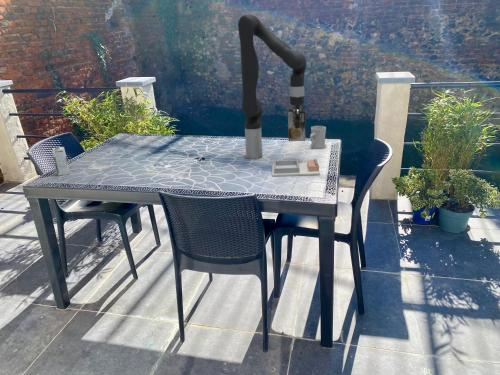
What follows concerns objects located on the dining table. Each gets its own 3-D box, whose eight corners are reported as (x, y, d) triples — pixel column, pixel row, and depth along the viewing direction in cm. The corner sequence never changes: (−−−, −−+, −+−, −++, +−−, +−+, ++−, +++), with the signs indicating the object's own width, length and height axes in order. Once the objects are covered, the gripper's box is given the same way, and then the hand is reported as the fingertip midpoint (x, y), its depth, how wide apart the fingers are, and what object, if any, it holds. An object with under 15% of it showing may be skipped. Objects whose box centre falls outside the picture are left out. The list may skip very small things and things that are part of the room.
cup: (325, 150, 235) (325, 130, 231) (309, 149, 237) (309, 130, 232) (325, 144, 245) (326, 125, 240) (310, 144, 246) (311, 125, 242)
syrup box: (58, 172, 222) (52, 147, 216) (69, 171, 224) (63, 146, 218) (57, 176, 217) (51, 150, 211) (69, 174, 219) (63, 149, 213)
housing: (272, 176, 199) (272, 170, 198) (272, 165, 214) (272, 159, 213) (320, 175, 198) (320, 168, 196) (316, 164, 212) (316, 158, 211)
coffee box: (305, 138, 217) (305, 108, 211) (305, 141, 212) (305, 111, 205) (288, 138, 218) (288, 108, 212) (288, 141, 213) (288, 111, 206)
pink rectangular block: (308, 171, 200) (308, 165, 199) (307, 164, 210) (307, 158, 208) (318, 170, 200) (319, 164, 199) (316, 164, 209) (316, 158, 208)
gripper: (289, 92, 213) (289, 123, 219) (290, 97, 199) (290, 130, 206) (303, 92, 212) (302, 123, 219) (305, 97, 199) (304, 129, 205)
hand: (296, 126), depth 212 cm, fingers closed on coffee box, 6 cm apart
